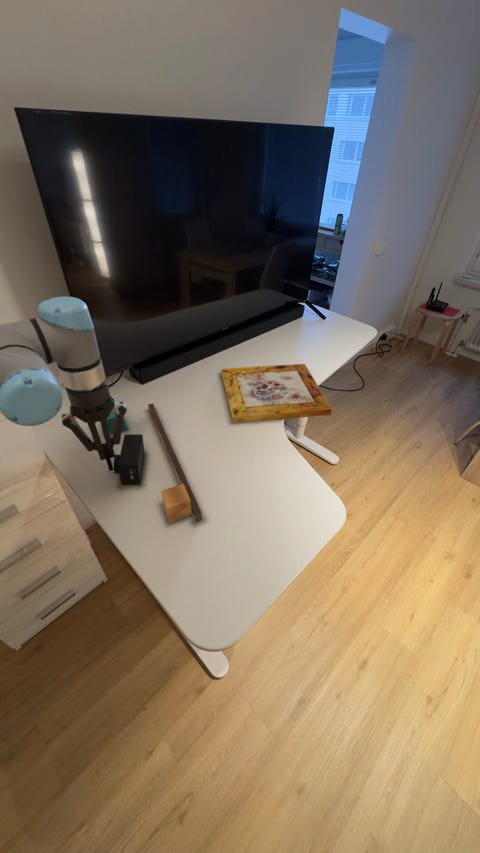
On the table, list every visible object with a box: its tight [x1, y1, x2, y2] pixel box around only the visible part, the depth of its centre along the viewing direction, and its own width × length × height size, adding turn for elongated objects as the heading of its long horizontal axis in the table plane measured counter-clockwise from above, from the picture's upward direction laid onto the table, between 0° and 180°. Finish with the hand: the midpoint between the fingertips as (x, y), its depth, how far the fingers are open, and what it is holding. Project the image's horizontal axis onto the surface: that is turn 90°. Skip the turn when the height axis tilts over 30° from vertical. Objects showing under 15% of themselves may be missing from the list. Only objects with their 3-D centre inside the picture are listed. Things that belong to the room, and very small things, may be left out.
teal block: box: [106, 408, 127, 435], centre depth 94 cm, size 5×5×5 cm
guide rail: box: [147, 403, 203, 523], centre depth 87 cm, size 2×42×2 cm, turn 25°
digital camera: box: [112, 433, 145, 486], centre depth 82 cm, size 10×5×7 cm, turn 6°
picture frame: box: [220, 363, 333, 424], centre depth 110 cm, size 27×2×30 cm
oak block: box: [160, 484, 193, 523], centre depth 74 cm, size 5×5×5 cm
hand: (110, 466), depth 81 cm, fingers closed
